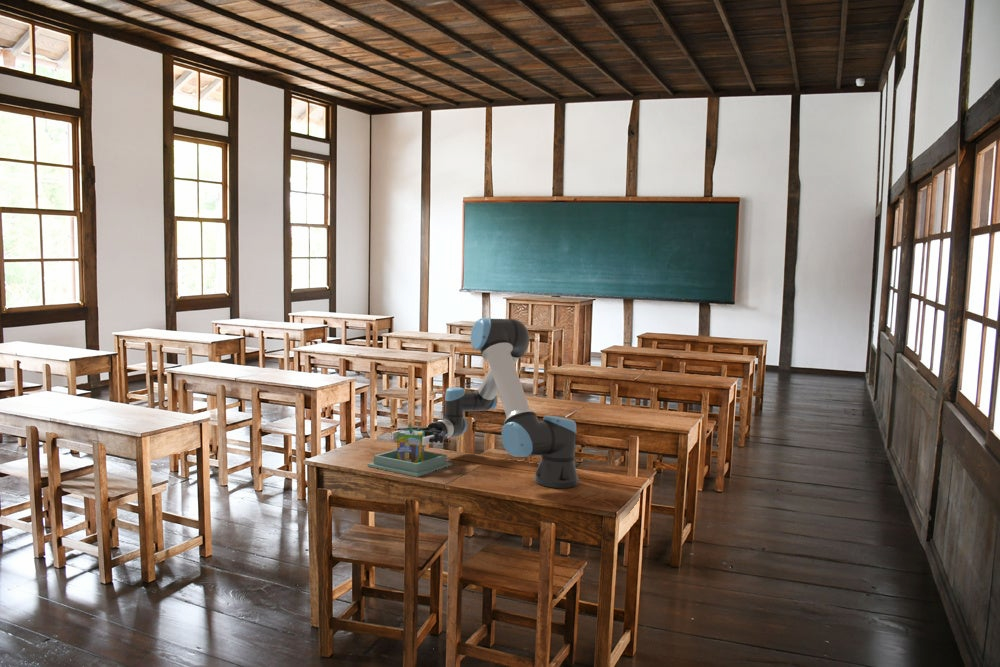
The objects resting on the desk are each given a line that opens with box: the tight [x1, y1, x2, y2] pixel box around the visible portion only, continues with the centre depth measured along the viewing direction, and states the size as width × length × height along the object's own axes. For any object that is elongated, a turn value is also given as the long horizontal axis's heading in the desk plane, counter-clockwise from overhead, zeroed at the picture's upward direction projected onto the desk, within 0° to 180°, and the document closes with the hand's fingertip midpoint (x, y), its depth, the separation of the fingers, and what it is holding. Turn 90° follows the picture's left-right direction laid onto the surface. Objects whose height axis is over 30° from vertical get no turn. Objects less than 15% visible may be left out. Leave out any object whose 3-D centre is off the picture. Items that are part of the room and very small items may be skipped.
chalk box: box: [396, 422, 425, 463], centre depth 274 cm, size 9×9×15 cm
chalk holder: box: [367, 449, 453, 478], centre depth 275 cm, size 22×22×4 cm
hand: (407, 438), depth 272 cm, fingers open, 13 cm apart
